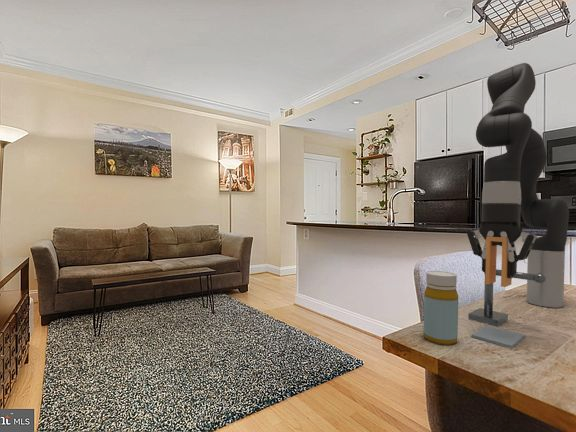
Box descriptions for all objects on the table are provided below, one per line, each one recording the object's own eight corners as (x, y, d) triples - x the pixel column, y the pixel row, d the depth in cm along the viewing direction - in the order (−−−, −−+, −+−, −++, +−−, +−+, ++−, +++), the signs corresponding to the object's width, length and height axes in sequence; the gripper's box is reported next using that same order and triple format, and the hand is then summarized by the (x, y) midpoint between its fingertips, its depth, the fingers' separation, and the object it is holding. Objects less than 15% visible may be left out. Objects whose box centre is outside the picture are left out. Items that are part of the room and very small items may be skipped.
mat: (486, 327, 82) (487, 324, 82) (525, 337, 76) (525, 334, 76) (471, 337, 75) (471, 334, 75) (511, 348, 69) (511, 345, 69)
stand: (479, 313, 93) (480, 263, 93) (548, 328, 81) (550, 272, 81) (468, 319, 88) (469, 266, 88) (540, 336, 76) (541, 276, 76)
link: (485, 283, 75) (486, 236, 75) (491, 281, 78) (493, 235, 78) (505, 287, 72) (506, 237, 72) (511, 284, 75) (512, 237, 75)
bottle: (454, 335, 76) (456, 271, 76) (459, 347, 69) (461, 277, 69) (422, 331, 78) (423, 269, 78) (424, 343, 72) (425, 275, 71)
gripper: (461, 201, 78) (459, 273, 78) (534, 201, 67) (531, 284, 67) (473, 202, 83) (472, 269, 83) (543, 202, 72) (540, 279, 72)
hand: (498, 275), depth 75 cm, fingers closed on link, 4 cm apart
